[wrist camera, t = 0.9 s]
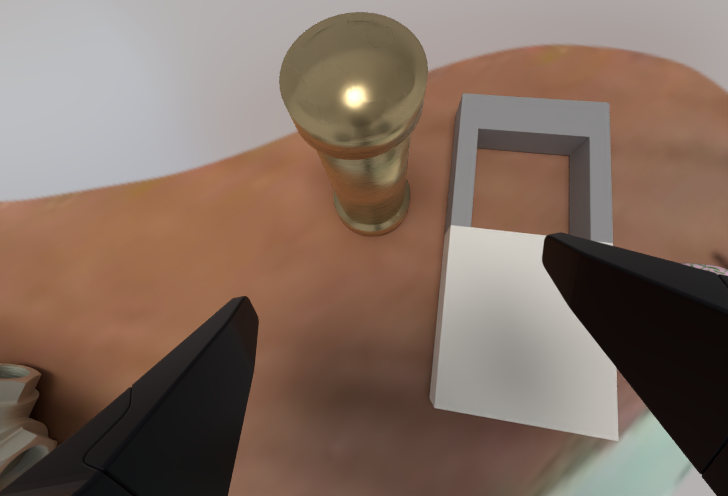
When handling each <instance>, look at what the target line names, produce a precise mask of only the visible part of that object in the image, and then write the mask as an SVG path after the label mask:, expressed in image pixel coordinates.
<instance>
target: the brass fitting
mask: <svg viewBox="0 0 728 496" xmlns="http://www.w3.org/2000/svg"><path fill="white" fill-rule="evenodd" d="M427 74H428V67H427V59H426V55H425V52H424V50H423V47H422V45H421V44H420V42H419V40H418V39H417V38H416V36H415V35H414V34H413V33H412V32H411V31H410V30H409V29H408V28H407V27H405V26H404V25H402V24H401V23H399V22H397V21H395V20H393V19H391V18H389V17H386V16H383V15H379V14H374V13H365V12H355V13H346V14H341V15H337V16H333V17H330V18H328V19H325V20H323V21H321V22H319V23H317V24H315V25H313V26H312V27H311V28H309V29H308V30H306V31H305V32H304V33H303V34H302V35H301V36H299V38H298V39H297V40H296V41H295V42H294V43H293V44H292V46H291V47H290V49H289V50H288V52H287V54H286V56H285V58H284V60H283V63H282V66H281V71H280V80H279V84H280V91H281V96H282V99H283V101H284V104H285V106H286V108H287V110H288V112H289V114H290V116H291V118H292V120H293V122H294V124H295V126H296V128H297V130H298V132H299V133H300V135H301V136H302V138H303V139H304V140H305V141H306V142H307V143H308V144H309V145H310V146H311V147H313V148H314V149H316V150H317V152H318V155H319V157H320V159H321V162H322V164H323V166H324V168H325V171H326V173H327V175H328V178H329V180H330V182H331V184H332V187H333V189H334V203H335V207H336V209H337V212H338V214H339V216H340V218H341V219H342V221H343V223H344V224H345V225H346V226H347V227H348V228H349V229H351V230H352V231H354V232H356V233H358V234H360V235H364V236H380V235H384V234H386V233H389V232H391V231H392V230H394V229H395V228H396V227H398V226H399V225H400V224H401V222H402V221H403V220H404V218H405V216H406V214H407V211H408V207H409V200H410V188H409V184H408V181H407V179H406V175H407V164H408V154H409V144H410V134H411V132H412V131H413V130H414V128H415V126H416V125H417V123H418V121H419V119H420V116H421V113H422V109H423V104H424V97H425V90H426V83H427Z"/></svg>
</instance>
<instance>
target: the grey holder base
mask: <svg viewBox="0 0 728 496" xmlns="http://www.w3.org/2000/svg"><path fill="white" fill-rule="evenodd" d="M477 148H483V149H495V150H507V151H519V152H531V153H543V154H555V155H567V156H570V157H569V235H573V236H577V237H581V238H585V239H588V240H592V241H596V242H600V243H604V244H608V245H611V246H613V225H612V188H611V152H610V115H609V103H606V102H590V101H574V100H559V99H543V98H527V97H512V96H496V95H480V94H465V93H463V94H462V97H461V101H460V104H459V107H458V110H457V113H456V120H455V131H454V141H453V152H452V163H451V173H450V184H449V195H448V205H447V216H446V226H445V237H444V248H443V258H442V269H441V280H440V290H439V301H438V311H437V322H436V333H435V343H434V354H433V364H432V375H431V386H430V396H429V398H430V400H431V402H432V404H433V406H434V408H437V409H443V410H449V411H454V412H460V413H465V414H471V415H476V416H482V417H487V418H493V419H498V420H504V421H510V422H515V423H521V424H526V425H532V426H537V427H543V428H548V429H554V430H560V431H565V432H571V433H576V434H582V435H587V436H593V437H598V438H604V439H609V440H615V441H618V408H617V371H616V367H615V365H614V364H613V363H612V361H611V360H610V359H609V358H608V356H607V355H606V354H605V353H604V351H603V350H602V349H601V347H600V346H599V345H598V344H597V342H596V341H595V340H594V339H593V337H592V336H591V335H590V334H589V332H588V331H587V330H586V328H585V327H584V326H583V325H582V323H581V322H580V321H579V320H578V318H577V317H576V316H575V314H574V313H573V312H572V310H571V309H570V308H569V306H568V305H567V303H566V302H565V300H564V299H563V297H562V295H561V294H560V292H559V290H558V289H557V287H556V286H555V284H554V282H553V281H552V279H551V278H550V276H549V274H548V273H547V271H546V269H545V268H544V266H543V263H542V253H543V245H544V239H545V237H546V236H544V235H535V234H526V233H517V232H508V231H499V230H490V229H481V228H472V227H471V219H472V206H473V193H474V180H475V166H476V153H477Z"/></svg>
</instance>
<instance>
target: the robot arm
mask: <svg viewBox="0 0 728 496" xmlns="http://www.w3.org/2000/svg"><path fill="white" fill-rule="evenodd" d="M542 263H543V266H544V268H545V269H546V271H547V273H548V274H549V276H550V278H551V279H552V281H553V282H554V284H555V286H556V287H557V289H558V290H559V292H560V294H561V295H562V297H563V299H564V300H565V302H566V303H567V305H568V306H569V308H570V309H571V310H572V312H573V313H574V314H575V316H576V317H577V318H578V320H579V321H580V322H581V323H582V325H583V326H584V327H585V328H586V330H587V331H588V332H589V334H590V335H591V336H592V337H593V339H594V340H595V341H596V342H597V344H598V345H599V346H600V347H601V349H602V350H603V351H604V353H605V354H606V355H607V356H608V358H609V359H610V360H611V361H612V363H613V364H614V365H615V367H616V368H617V369H618V370H619V372H620V373H621V374H622V375H623V377H624V378H625V379H626V381H627V382H628V383H629V384H630V386H631V387H632V388H633V389H634V391H635V392H636V393H637V395H638V396H639V397H640V398H641V400H642V401H643V402H644V403H645V405H646V406H647V407H648V409H649V410H650V411H651V412H652V414H653V415H654V416H655V417H656V419H657V420H658V421H659V423H660V424H661V425H662V426H663V428H664V429H665V430H666V431H667V433H668V434H669V435H670V437H671V438H672V439H673V440H674V442H675V443H676V444H677V445H678V447H679V448H680V449H681V450H682V452H683V453H684V454H685V456H686V457H687V458H688V459H689V461H690V462H691V463H692V464H693V466H694V467H695V468H696V470H697V471H698V472H699V473H700V474H702V478H703V479H704V480H705V481H706V483H707V484H708V485H709V486H710V488H711V489H712V490H713V492H714V493H715V494H716V495H717V496H728V276H726V275H723V274H718V275H717V274H716V273H715V272H711V271H707V270H703V269H699V268H696V267H692V266H688V265H684V264H680V263H676V262H673V261H669V260H665V259H661V258H657V257H653V256H650V255H646V254H642V253H638V252H634V251H630V250H627V249H623V248H619V247H615V246H611V245H608V244H604V243H600V242H596V241H592V240H588V239H585V238H581V237H577V236H573V235H569V234H565V233H555V234H550V235H547V236H546V237H545V239H544V245H543V253H542ZM258 324H259V320H258V316H257V314H256V312H255V310H254V308H253V306H252V304H251V302H250V300H249V298H248V297H246V296H242V297H237V298H233V299H231V300H230V301H229V302H228V303H227V304H226V305H224V306H223V307H222V308H221V309H220V310H219V311H218V312H216V313H215V314H214V315H213V316H212V317H211V318H209V319H208V320H207V321H206V322H205V323H204V324H202V325H201V326H200V327H199V328H198V329H197V330H195V331H194V332H193V333H192V334H191V335H190V336H188V337H187V338H186V339H185V340H184V341H183V342H182V343H180V344H179V345H178V346H177V347H176V348H175V349H173V350H172V351H171V352H170V353H169V354H168V355H166V356H165V357H164V358H163V359H162V360H161V361H159V362H158V363H157V364H156V365H155V366H154V367H153V368H151V369H150V370H149V371H148V372H147V373H146V374H144V375H143V376H142V377H141V378H140V379H139V380H137V381H136V382H135V383H134V384H133V385H132V387H129V388H128V389H127V390H126V391H125V392H123V393H122V394H121V395H120V396H119V397H118V398H117V399H115V400H114V401H113V402H112V403H111V404H109V405H108V406H107V407H106V408H105V409H103V410H102V411H101V412H100V413H99V414H97V415H96V416H95V417H94V418H93V419H91V420H90V421H89V422H88V423H86V424H85V425H84V426H83V427H81V428H80V429H79V430H78V431H76V432H75V433H74V434H73V435H71V436H70V437H69V438H68V439H66V440H65V441H64V442H62V443H61V444H60V445H59V446H57V447H56V448H55V449H54V450H52V451H51V452H50V453H48V454H47V455H46V456H45V457H43V458H42V459H41V460H39V461H38V462H37V463H36V464H34V465H33V466H32V467H31V468H29V469H28V470H27V471H25V472H24V473H23V474H22V475H20V476H19V477H18V478H16V479H15V480H14V481H13V482H11V483H10V484H9V485H8V486H6V487H5V488H4V489H2V490H1V491H0V496H228V492H229V487H230V483H231V478H232V473H233V468H234V463H235V459H236V454H237V449H238V444H239V440H240V435H241V430H242V425H243V421H244V416H245V411H246V406H247V401H248V397H249V392H250V387H251V382H252V378H253V372H254V366H255V357H256V346H257V335H258Z"/></svg>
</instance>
